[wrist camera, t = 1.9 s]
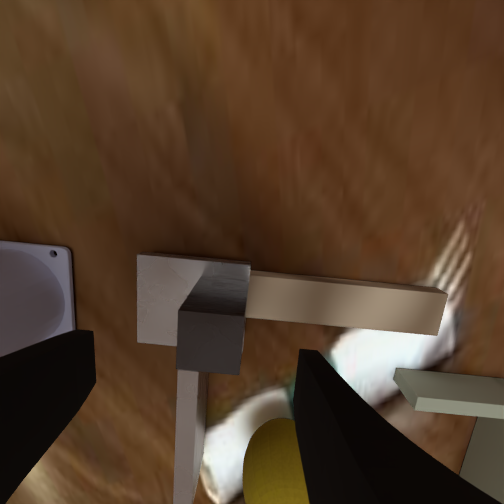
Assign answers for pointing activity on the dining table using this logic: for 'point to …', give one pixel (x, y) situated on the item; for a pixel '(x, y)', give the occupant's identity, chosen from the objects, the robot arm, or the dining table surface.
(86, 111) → the dining table surface
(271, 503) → the lemon
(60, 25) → the dining table surface
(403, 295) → the rail
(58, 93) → the dining table surface
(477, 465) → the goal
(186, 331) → the slider
